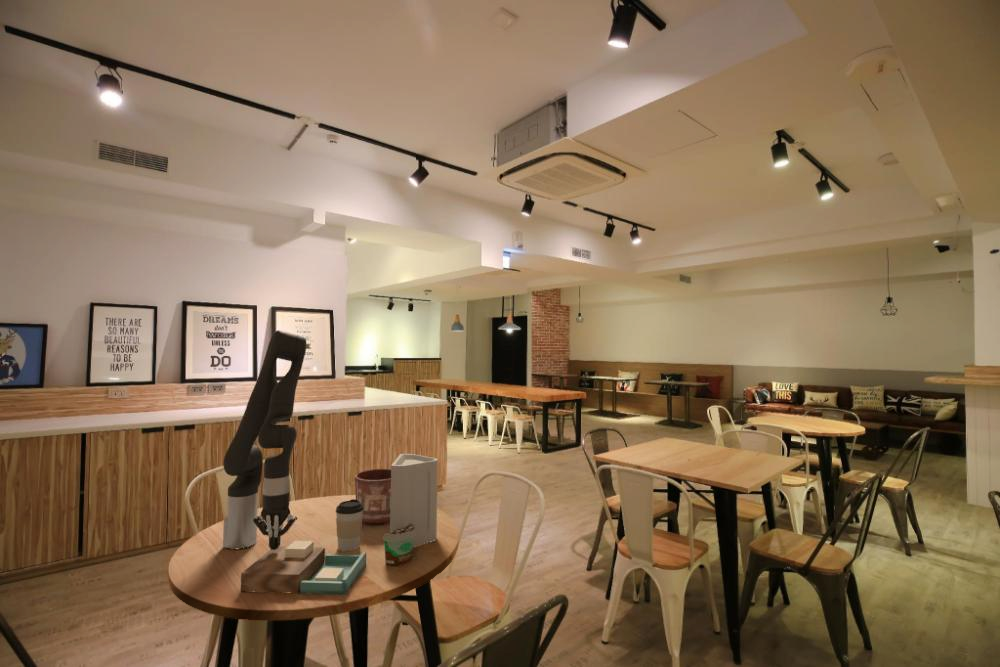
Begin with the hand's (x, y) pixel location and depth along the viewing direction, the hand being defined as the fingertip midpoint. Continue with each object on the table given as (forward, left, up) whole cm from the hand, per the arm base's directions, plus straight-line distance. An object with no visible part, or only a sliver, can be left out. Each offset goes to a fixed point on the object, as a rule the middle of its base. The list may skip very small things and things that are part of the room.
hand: (274, 548), depth 143 cm
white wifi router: (+38, +25, -6) cm, 46 cm away
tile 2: (+20, -8, -3) cm, 22 cm away
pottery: (+19, +43, -6) cm, 48 cm away
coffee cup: (+17, +17, -6) cm, 25 cm away
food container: (+38, +7, -6) cm, 39 cm away
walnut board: (+6, -5, -6) cm, 10 cm away
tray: (+20, -5, -6) cm, 22 cm away
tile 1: (+8, 0, -1) cm, 8 cm away
